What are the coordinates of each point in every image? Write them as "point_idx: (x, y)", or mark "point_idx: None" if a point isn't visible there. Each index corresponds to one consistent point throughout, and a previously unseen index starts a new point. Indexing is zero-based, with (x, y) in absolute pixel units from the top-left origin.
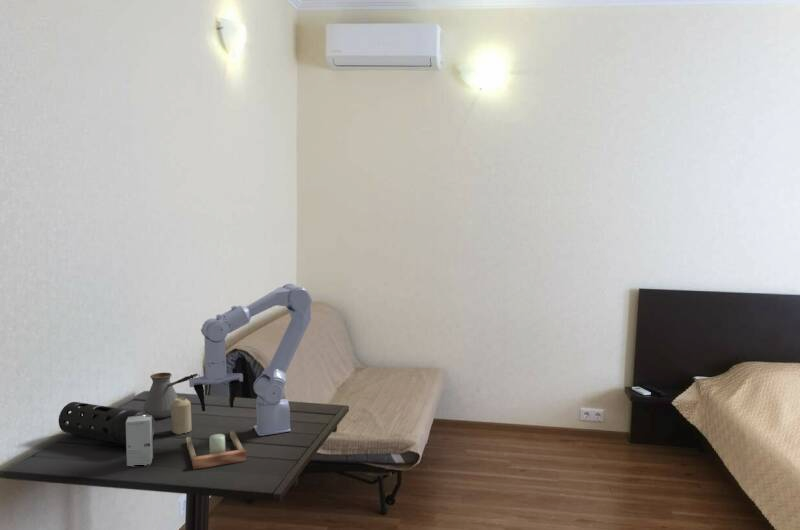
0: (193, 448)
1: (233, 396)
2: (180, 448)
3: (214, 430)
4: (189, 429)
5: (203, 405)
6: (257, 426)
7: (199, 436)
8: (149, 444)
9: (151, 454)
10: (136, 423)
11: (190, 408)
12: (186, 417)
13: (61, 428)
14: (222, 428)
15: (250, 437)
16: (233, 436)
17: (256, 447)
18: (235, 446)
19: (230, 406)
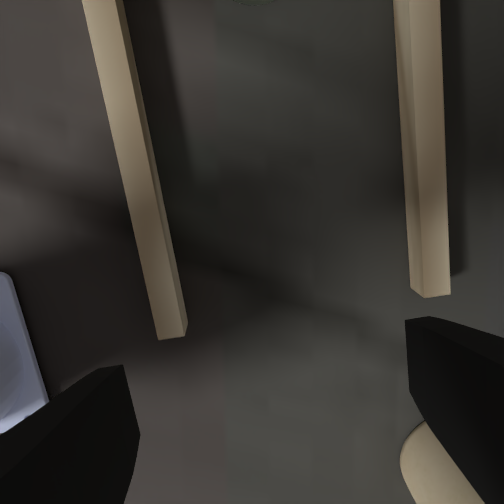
0: (415, 77)
1: (7, 441)
2: (469, 200)
3: (278, 429)
4: (417, 442)
5: (459, 334)
6: (5, 361)
7: (359, 360)
8: None
9: None
10: None
11: None
12: (475, 492)
13: None
14: (235, 449)
15: (64, 272)
16: (157, 233)
17: (9, 84)
18: (145, 116)
19: (120, 375)
